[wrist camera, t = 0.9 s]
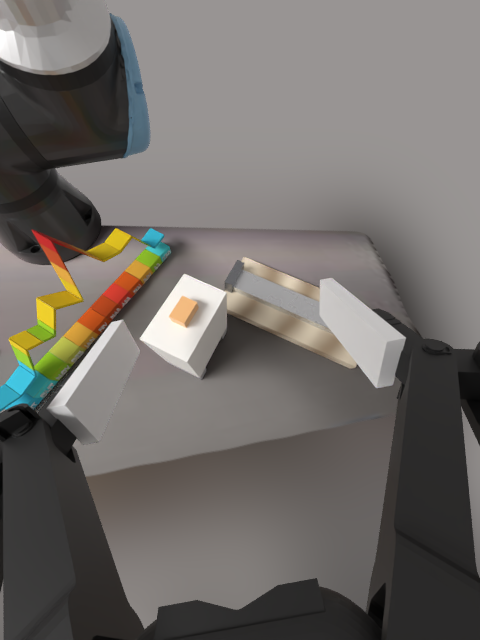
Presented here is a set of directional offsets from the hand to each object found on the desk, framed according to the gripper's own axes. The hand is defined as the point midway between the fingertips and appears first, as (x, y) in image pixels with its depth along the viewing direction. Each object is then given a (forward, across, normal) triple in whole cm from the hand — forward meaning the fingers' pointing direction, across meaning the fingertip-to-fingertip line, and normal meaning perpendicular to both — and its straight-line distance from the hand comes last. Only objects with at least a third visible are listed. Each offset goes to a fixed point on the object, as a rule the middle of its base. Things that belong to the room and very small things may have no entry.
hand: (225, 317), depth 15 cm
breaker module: (+13, -6, -12) cm, 19 cm away
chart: (+18, -20, -7) cm, 28 cm away
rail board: (+18, +9, -12) cm, 23 cm away
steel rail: (+17, +9, -10) cm, 22 cm away
